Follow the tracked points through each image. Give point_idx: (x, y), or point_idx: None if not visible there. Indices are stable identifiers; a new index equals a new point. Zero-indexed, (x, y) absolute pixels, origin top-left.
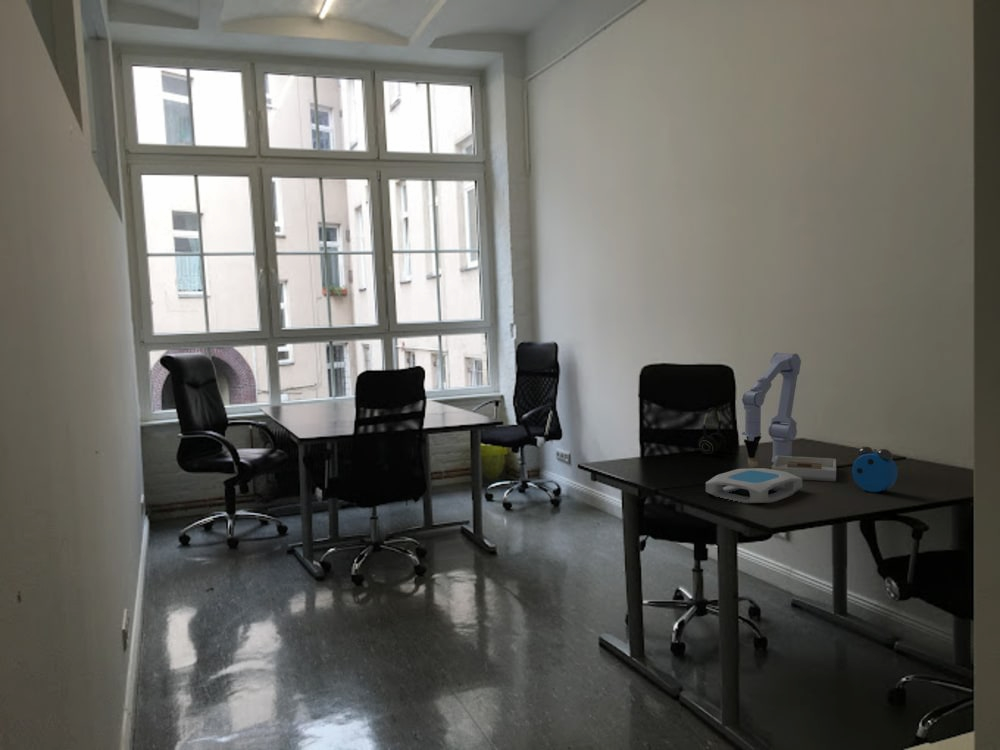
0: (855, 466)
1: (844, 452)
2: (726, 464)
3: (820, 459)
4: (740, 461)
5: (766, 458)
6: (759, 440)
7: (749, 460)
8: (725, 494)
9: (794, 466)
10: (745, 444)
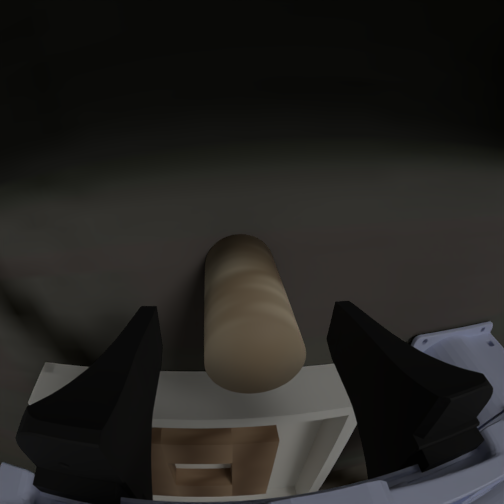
0: None
1: None
2: (350, 69)
3: (306, 491)
4: (452, 174)
5: (493, 297)
6: (366, 460)
7: (213, 283)
8: None
9: (160, 459)
10: (53, 393)
